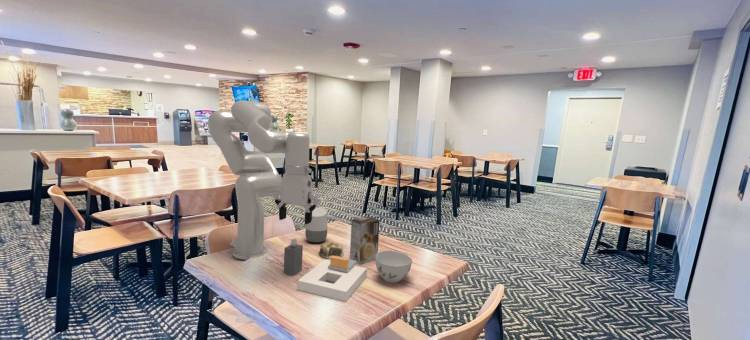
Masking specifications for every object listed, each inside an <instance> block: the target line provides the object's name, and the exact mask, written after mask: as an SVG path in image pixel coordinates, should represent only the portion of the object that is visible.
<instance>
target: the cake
mask: <svg viewBox="0 0 750 340" xmlns="http://www.w3.org/2000/svg"><path fill="white" fill-rule="evenodd" d="M343 248H344V247H343V245H342V244H341V243H338V242H334V241H331V242H324V243H322V244H321V245H320V248H319V252H318V255H319V256H320V257H322V258H324V259H327V260H330V257H331V256H337V257H342V258H344V256H345V254H344V251H343V250H344V249H343Z"/></svg>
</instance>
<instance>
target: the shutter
mask: <svg viewBox="0 0 750 340" xmlns="http://www.w3.org/2000/svg"><path fill="white" fill-rule="evenodd" d="M329 258H330V259H329V260H330V265H329V266H328V268H329V269H334V270H338V271H343V272H348V271H349V270H350V269H351V268H352V267H353V266H356V265H357V261H355V260H350V258H347V257H346V258H345V257H340V256H335V255H331V256H329Z"/></svg>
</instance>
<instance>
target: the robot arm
mask: <svg viewBox="0 0 750 340" xmlns="http://www.w3.org/2000/svg"><path fill="white" fill-rule="evenodd" d="M271 113H272V111H271V109H270V107H269V105H267V104H266V103H264V102H263V101H262V102H260V101H252V100H238V101H235V102H233V104H232V105H231V107H230V110H226V109H225V110H222V109H221V110H216V111H213V112H212V113H210V115H209V116H208V119H207V125H208V126H207V127H208V132H209V135H210V137H211V138H212V141H214V143H215V144H216V145H217V147H218V148H219V149H220V152H221V153H222V155H223V157H224V159H225V162H226V164H227V165H228V168H229V169H230V171H231V172H232V174H233V175H235V176H238V177H237V178H236V180H235V184H234V185H235V193H236V200H237V239H235V238H233V239H232V241H231V242H230V243H229V244H230V245H229V246H231V247H234V249H233V251H232V256H233V257H234V258H235V259H238V260H244V261H245V260H246V261H247V260H250V259H253V258H258V257H259V258H260V257H261V256H264V255H266V254H267V253H268V248H267V247H266V246H264V241H265V207H264V205H263V202H262V201H261V200H260V198H265V197H269V196H270V197H271V196H272V197H273V200H274V203H275V204H276V206H277V209H278V220H279V221H282V220H285V219H287V206H286V205H291V206H298V207H303V208H304V210H305V213H304V225H306V224H309V223H311V221H312V211H314V209H315V208H317V207H318V206H319V204H320V202H321V199H319V198H318V197H317V196H315V195H314V194H313V183H312V176H311V175H309V174H311V173H312V171H313V169H312V168H310V166H309V165H310V142H311V141H310V135H309V134H308V133H302V132H295V131H294V132H293V131H288V130H286V131H285V130H270V128H271V124H272V121H271V116H272V114H271ZM233 133H246V134H247V137H248V141H249V142H250V145H252V146H253V147H254V148H256V149H257V150H258V151H257V150H253V151H252V150H251V151H250V150H248V149H247V148H246V146H245V145H244V143H243V142H242V140H241V139H240V138H239V137H238V136H236V135H235V134H233ZM269 154H271V155H272V154H285V159H284V161H285V163H284V173H283V175H282V177H281V176H280V174H279V172H278V169H277V168H276V167H275V164H274V162H273V161H272V159H271V157H270V156H269Z"/></svg>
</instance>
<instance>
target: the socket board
mask: <svg viewBox="0 0 750 340" xmlns="http://www.w3.org/2000/svg"><path fill="white" fill-rule="evenodd" d="M329 265H330V259H323V261H321V262H319V264H317V265H316V266H314V267H313V268H312V269H310V271H308V272H306V273H305V274H304V275H303V276H302V277H300V278H299V279H298V280H297V290H298V291H301V292H304V293H305V292H306V293H309V294H314V295H317V296H322V297H325V298H330V299H334V300H336V301H337V300H338V301H342V302H346V301H347V300H348V299H349V298H350V297H351V296H352V295H353V293H354V292H355V291H356V290H357V289H358V288H359V286H360V285H361V284H362V283H363V282H364V280H365V279H366V277H367V273H368V268H367V267H364V266H358V265H354V266H353V267H352V268H351V269H350V270H349V271H348V272H343V271H338V270H334V269H329V268H328V266H329Z"/></svg>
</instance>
